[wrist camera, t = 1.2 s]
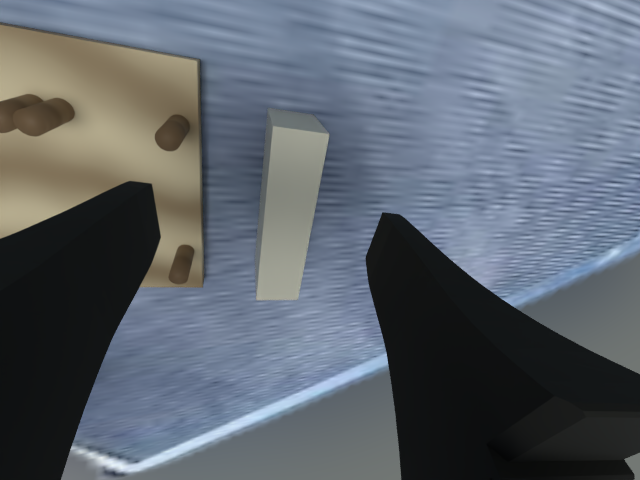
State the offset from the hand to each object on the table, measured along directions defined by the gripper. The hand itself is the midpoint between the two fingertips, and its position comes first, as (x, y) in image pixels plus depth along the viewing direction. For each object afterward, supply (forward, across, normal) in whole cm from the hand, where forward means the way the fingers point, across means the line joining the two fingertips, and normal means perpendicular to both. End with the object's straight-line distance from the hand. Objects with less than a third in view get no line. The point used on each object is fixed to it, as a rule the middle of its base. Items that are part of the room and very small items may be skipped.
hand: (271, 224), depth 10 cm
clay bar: (+12, 0, +6) cm, 14 cm away
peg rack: (+10, +12, +6) cm, 17 cm away
